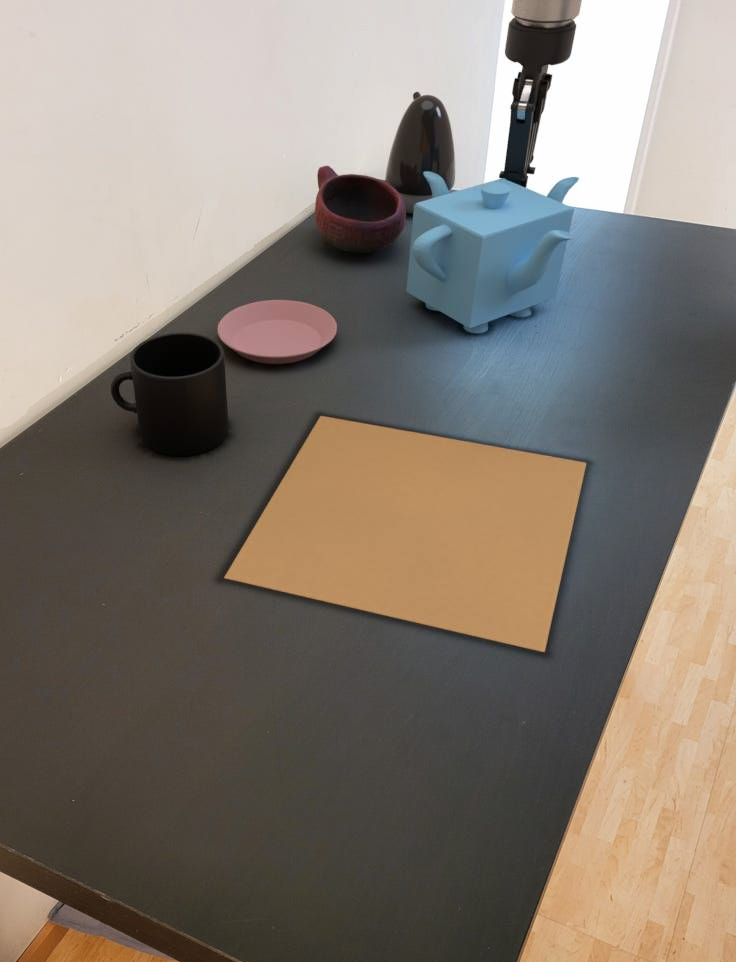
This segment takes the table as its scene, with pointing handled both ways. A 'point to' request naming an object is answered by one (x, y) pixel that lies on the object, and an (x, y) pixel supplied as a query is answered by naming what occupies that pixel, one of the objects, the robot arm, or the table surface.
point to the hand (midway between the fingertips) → (507, 228)
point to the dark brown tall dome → (421, 150)
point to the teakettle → (488, 249)
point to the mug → (177, 393)
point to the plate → (277, 330)
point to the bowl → (357, 211)
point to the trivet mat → (419, 530)
